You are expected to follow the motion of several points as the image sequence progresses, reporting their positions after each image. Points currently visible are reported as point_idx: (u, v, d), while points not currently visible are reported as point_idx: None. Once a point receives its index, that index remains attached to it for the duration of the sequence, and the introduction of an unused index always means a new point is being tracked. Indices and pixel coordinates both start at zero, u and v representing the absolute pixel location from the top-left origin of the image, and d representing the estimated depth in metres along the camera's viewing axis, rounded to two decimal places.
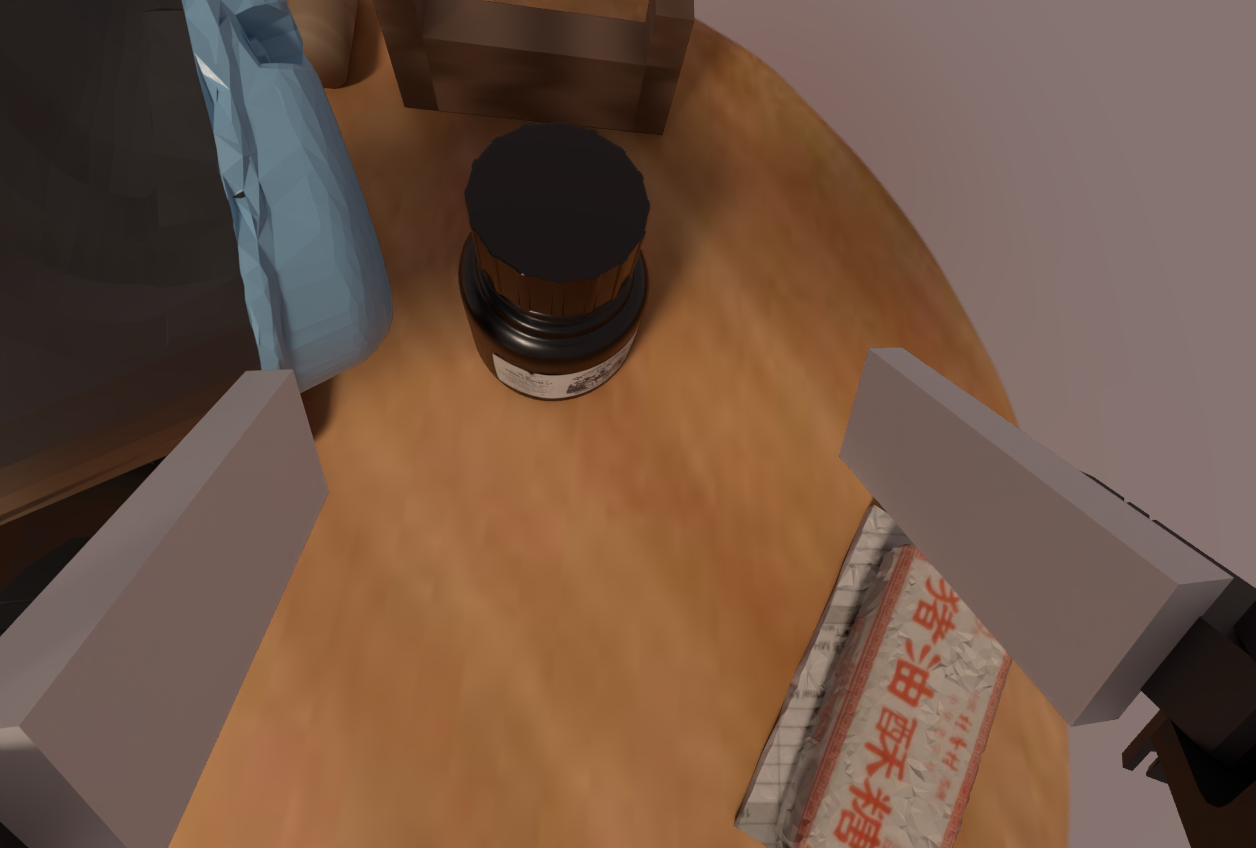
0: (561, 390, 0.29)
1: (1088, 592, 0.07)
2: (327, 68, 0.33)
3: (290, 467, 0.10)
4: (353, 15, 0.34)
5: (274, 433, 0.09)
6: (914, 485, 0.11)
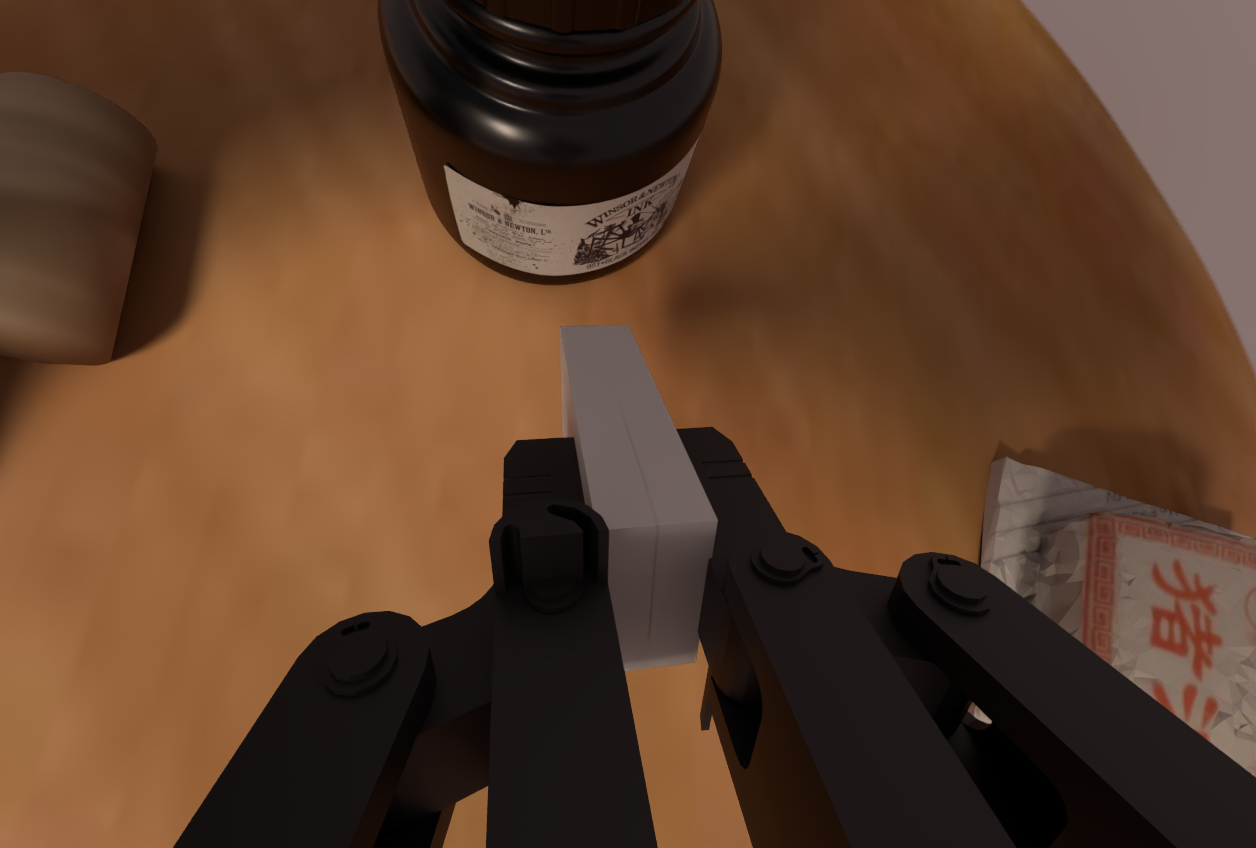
0: (566, 254, 0.17)
1: None
2: None
3: None
4: None
5: None
6: None
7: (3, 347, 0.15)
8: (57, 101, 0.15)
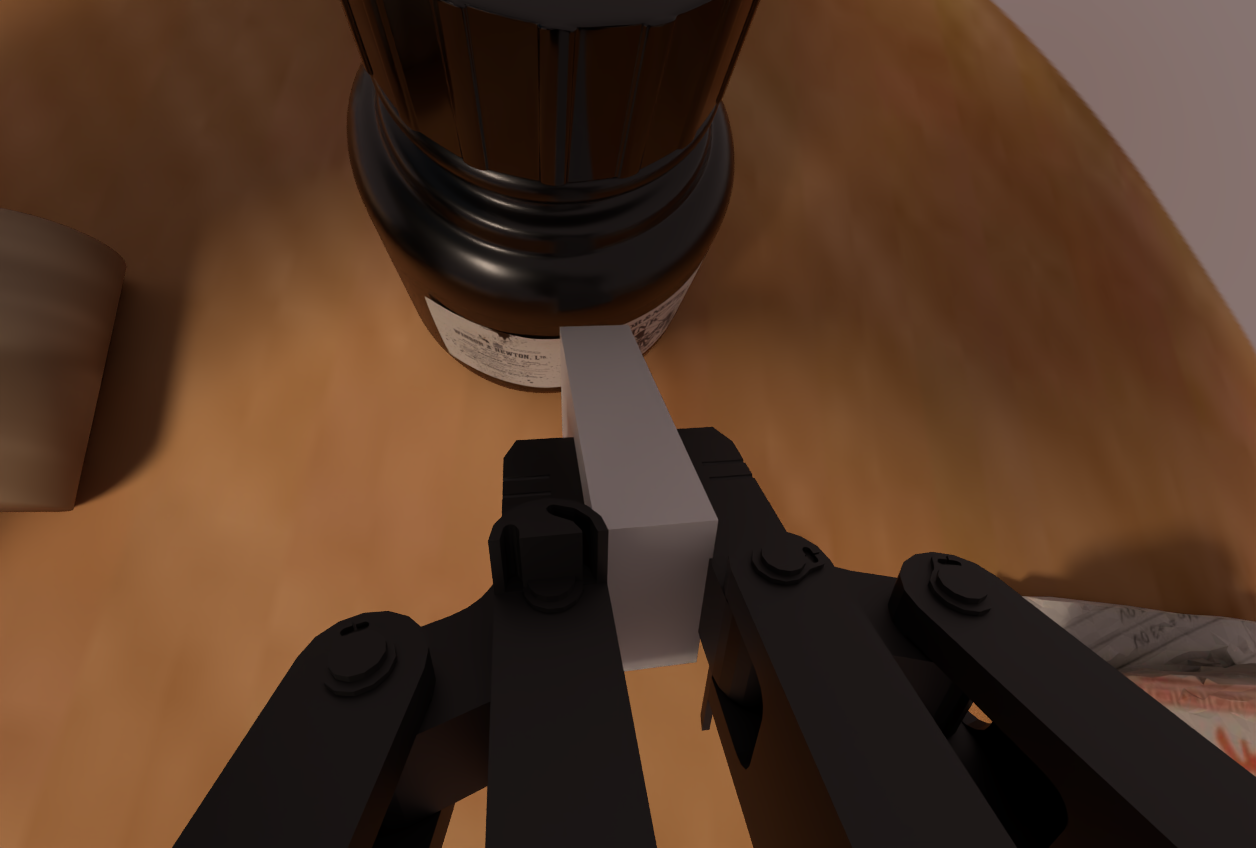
0: None
1: None
2: None
3: None
4: None
5: None
6: None
7: None
8: (27, 240, 0.14)
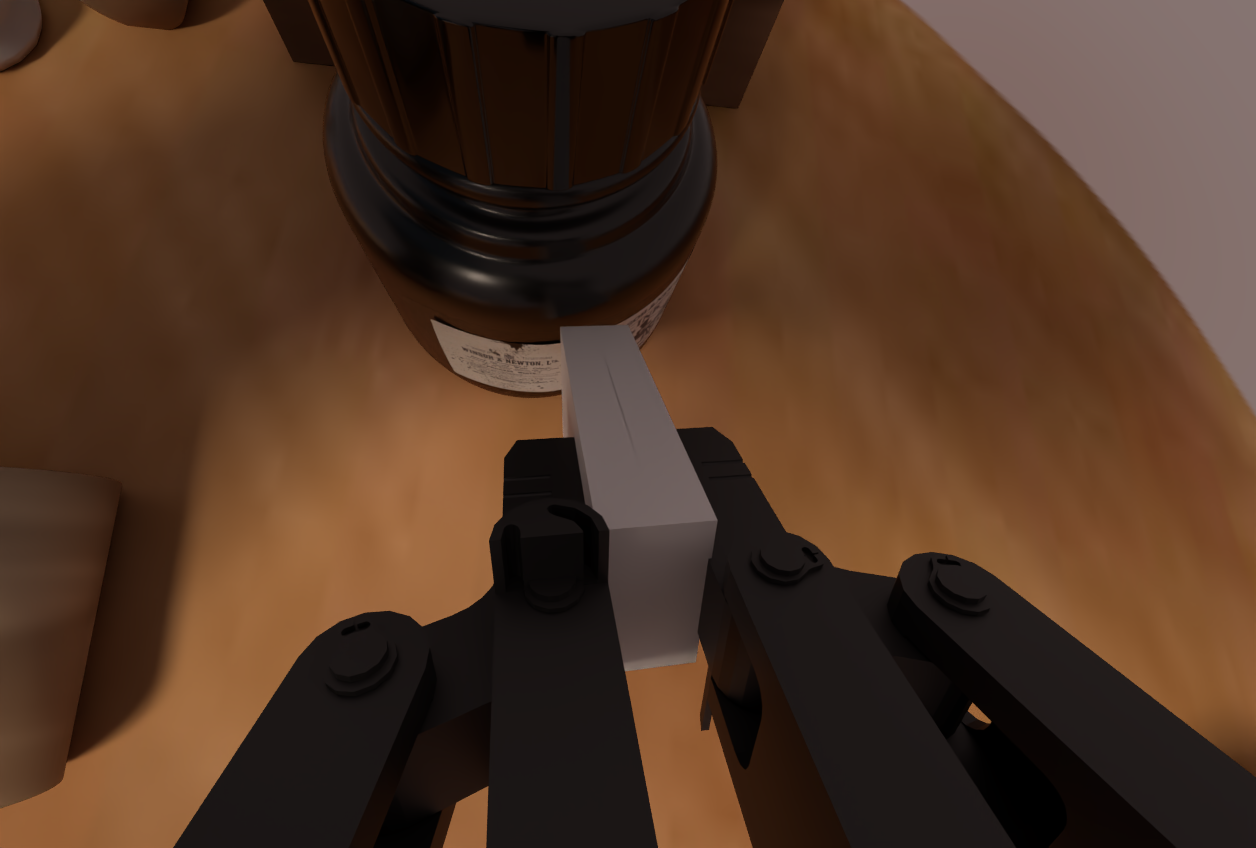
0: None
1: None
2: None
3: None
4: None
5: None
6: None
7: None
8: (45, 500, 0.13)
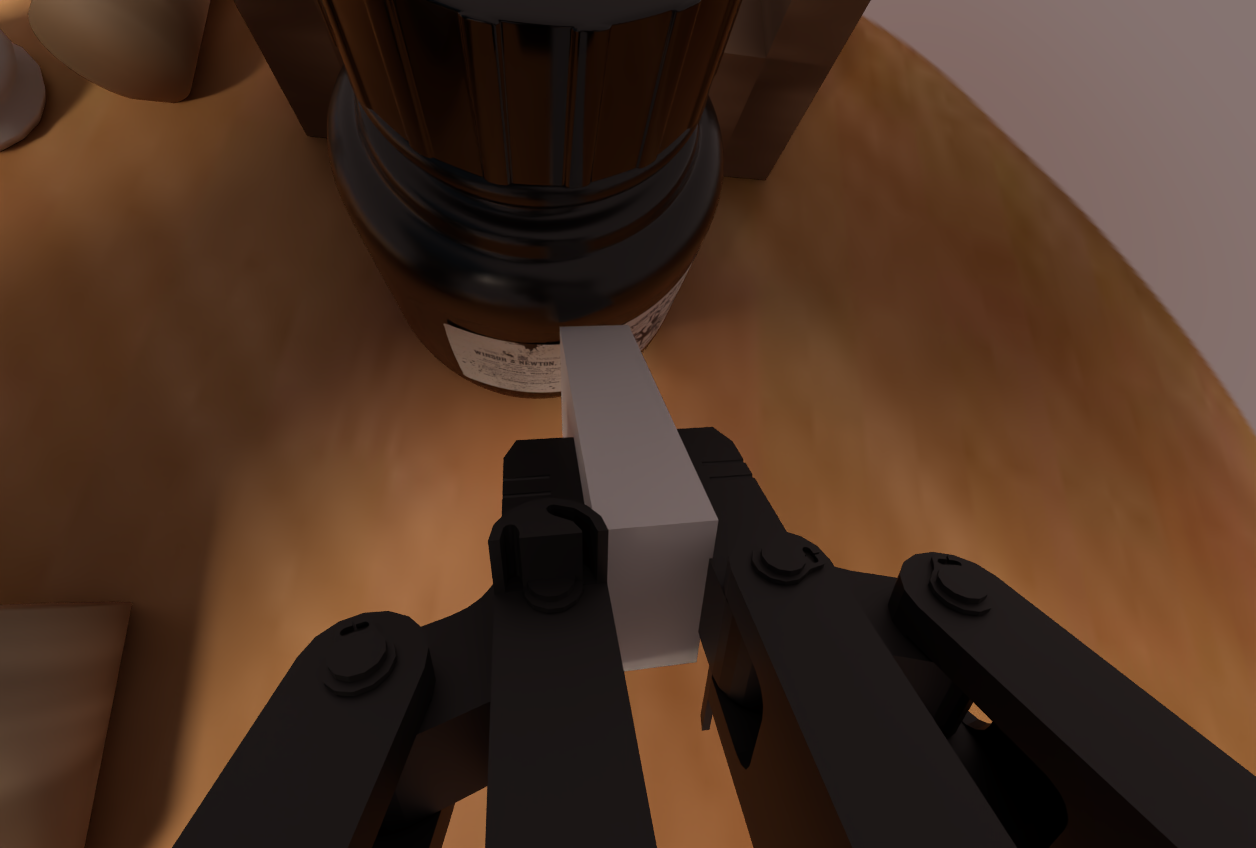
0: None
1: None
2: (147, 64, 0.17)
3: None
4: None
5: None
6: None
7: None
8: (61, 641, 0.12)
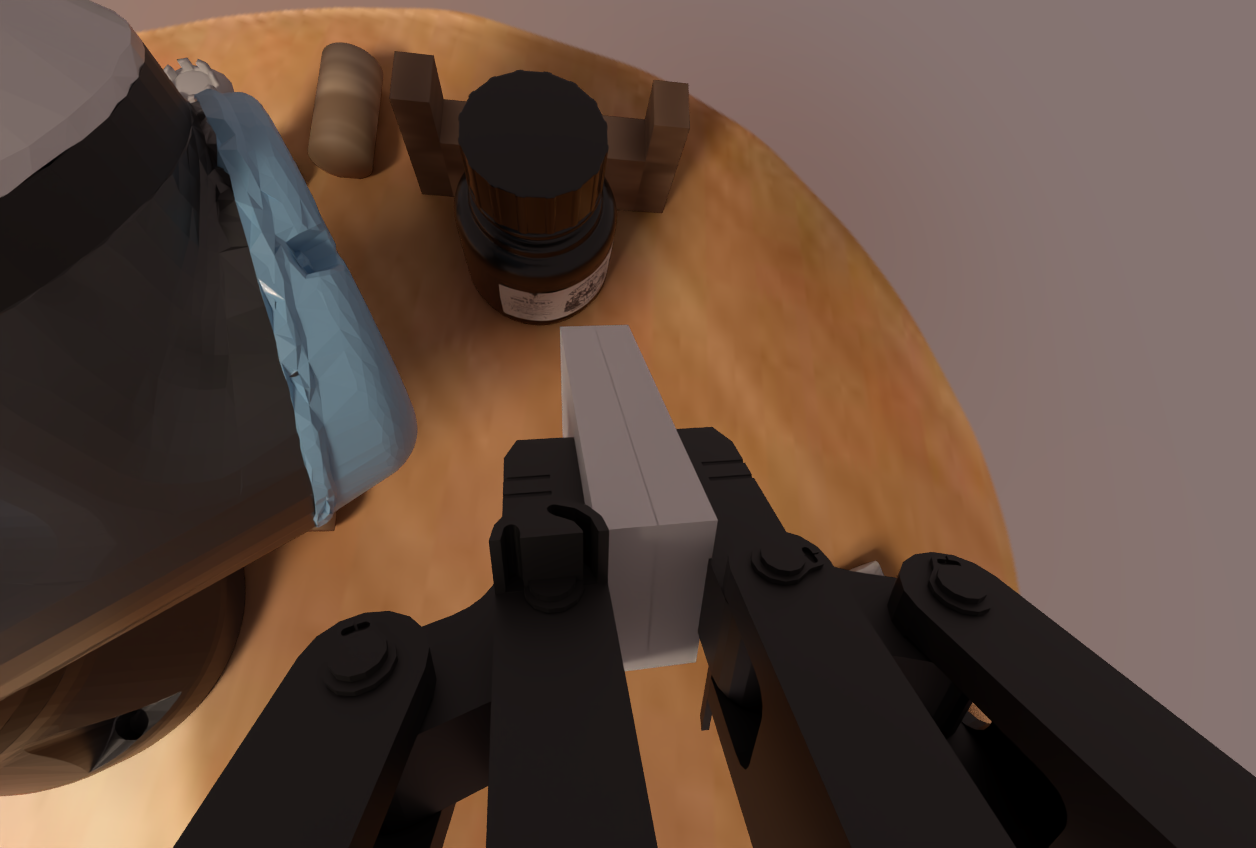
0: (560, 309, 0.34)
1: None
2: (354, 164, 0.35)
3: None
4: (377, 113, 0.36)
5: None
6: None
7: None
8: None
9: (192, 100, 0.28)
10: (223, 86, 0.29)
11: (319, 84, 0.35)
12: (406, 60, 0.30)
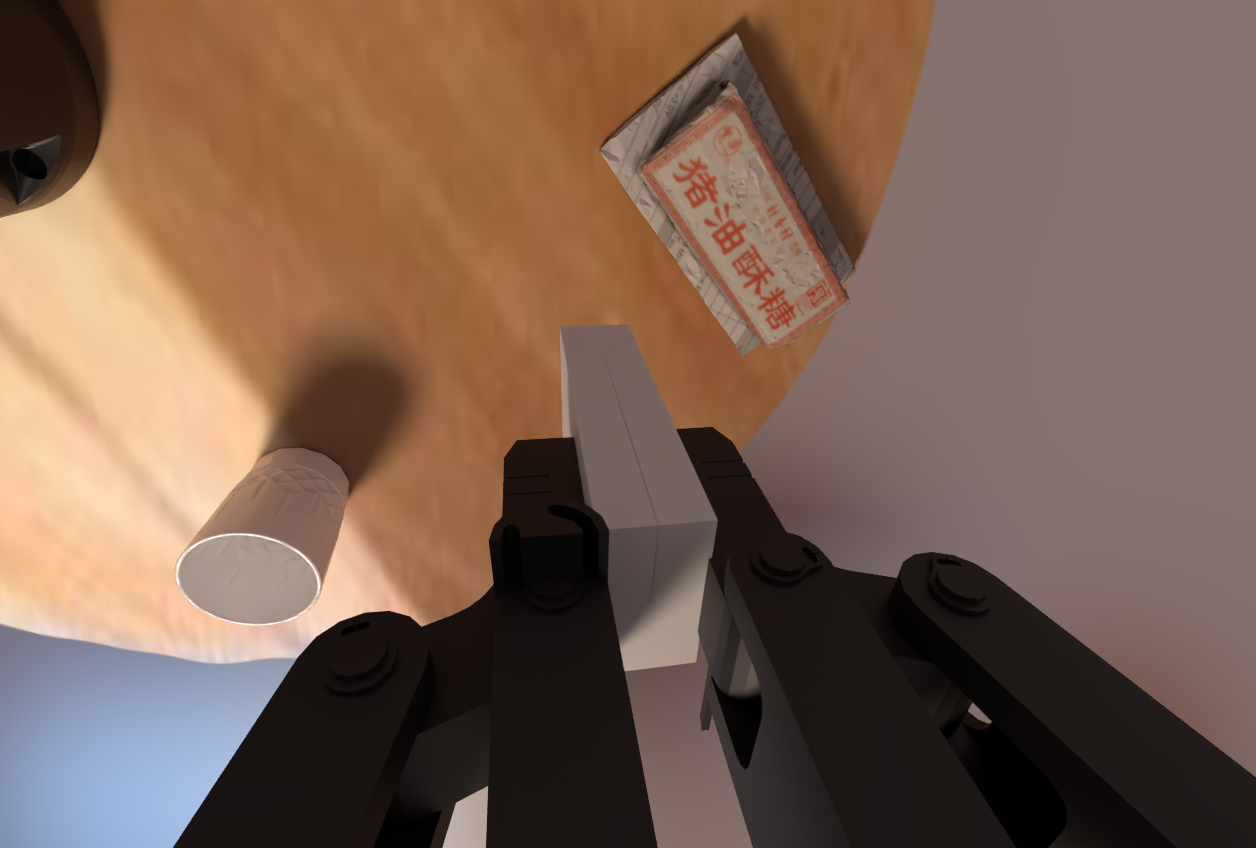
0: None
1: None
2: None
3: None
4: None
5: None
6: None
7: None
8: None
9: None
10: None
11: None
12: None
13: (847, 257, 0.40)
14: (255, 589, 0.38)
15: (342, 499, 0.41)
